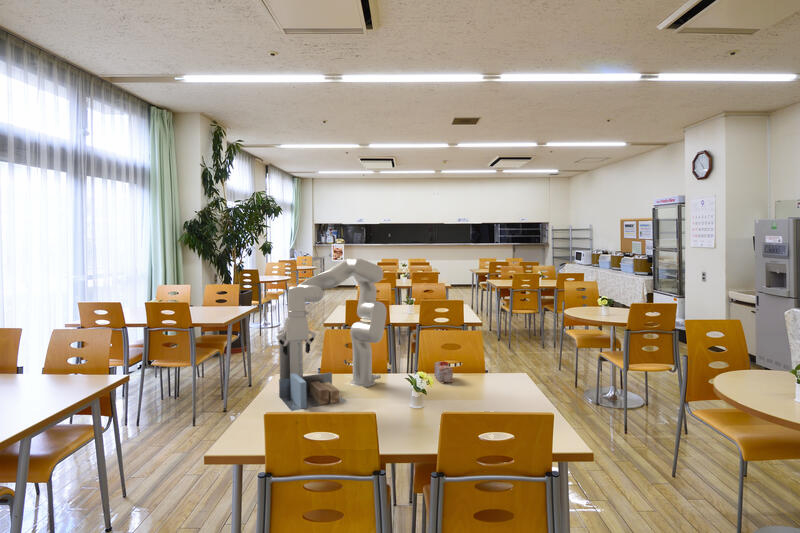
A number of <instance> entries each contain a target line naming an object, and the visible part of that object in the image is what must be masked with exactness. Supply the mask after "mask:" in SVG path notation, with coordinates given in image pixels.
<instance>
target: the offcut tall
mask: <svg viewBox="0 0 800 533" xmlns="http://www.w3.org/2000/svg"><path fill="white" fill-rule="evenodd" d="M310 396H311V397H312V398H313V399H315V400H316V401H317V402H318V403H319V404H326V403H329V389H327V388H326V387H325V386H324V385H322V384H321V383H320V382H311V383H310Z"/></svg>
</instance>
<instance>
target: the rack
mask: <svg viewBox="0 0 800 533" xmlns="http://www.w3.org/2000/svg"><path fill="white" fill-rule="evenodd" d="M301 378H302V379H303V380H304V381H306V406H307V408H300V407H299V406H298V405H297V404H296V403H295V402H294V401H293V400H292V399H291V378H286V379H280V378H278V397H279V398H280V400H282V402H283V403H284V405H286V407H287V408H288V409H289V410H290V411H291V412H293V411H300V410H305V409H306V410H307V409H312V408H317V407H323V406H331V405H334V404H340V403H346V402H348V400H346V399H345V398H344V397H342V396H341V395H340V394H339V401H338V402H332V403H331V402H330V401H329V403H326V404H319V403H318V402H317V401H316V400H315V399H313V398H312V397H311V396H310V383H311V382H320V383H326V382H329V383H331V384H332V385H333V372H325V373H317V374H310V375H309V374H308V375H303V376H301Z"/></svg>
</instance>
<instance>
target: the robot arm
mask: <svg viewBox="0 0 800 533" xmlns="http://www.w3.org/2000/svg"><path fill="white" fill-rule="evenodd" d="M351 277H353V278H354V279H355V281H356V282H357V284H358V287H359V298H358V303H357V308H356V309H357V310H356V315H357V317H358V318H360V319H363V320H368V321H369V320H370V322H368V321H356V322H354V323H353V324H352V325H351V327H350V330H349V331H350V332H349V333H350V338H351V344H352V345H351V346H352V380H350V382H349V384H350V385H351V386H356V387H364V388H370V387H372V386H374V385H375V383H376V381H375V380H379V379H381V374H373V372H372V370H373V368H372V366H373V365H372V364H373V359H372V358H373V356H372V354H373V352H372V344H376V343H379V342H381V341H382V339H383V336H384V332H385V326H386V320H387V314H388V313H387V307H386V305H385V304H384V303H383V302H381V301H378V300H377V294H378V293H377V292H378V291H377V287H376V284H375V283H379V282H381V281H382V280H383V277H384V270H383V269H382V267H381V266H380V265H379V264H378V265H377V264H375V263H373V262H370V261H368V260H365V259H362V258H345V259H343V260H342V261H341V260H340V262H338V263H337V264H336V265H334V266H332V267H331V268H330V269H328V270H326V271H324V272H321V273H319V274H316V275H313V276H311V277H308V278H306V280H304V281H302V282H301V283H299V284H298V285H294V286H289V287H288V288H287V289H288V290H287V317H285V320H284V327H283V328H284V329H283V330H284V332H282V333H281V334H279V333H278V334H277V335H276V339H277V341H278V342H280V343H281V344H282V345H283V353H284V355H287V346H286V345H287V343H288V342H289V341H302V342H304V341H305V350H304V351H305V353H306V354H309V353H310V351H311V344H312V342H314V340H315V338H316V336H317V333H315V332H314V331H312V330H309V323H308V318H307V315H309V311H308V310H307V309H306V303H318V302H320V301H321V300H322V299H323V298H324V290H326V289H333V288H335V287H338V286H339V285H341V284H342V283H343V282H345V281H347V280H348V279H349V278H351ZM376 300H377V301H376ZM310 335H311V337H309V336H310ZM282 336H284V339H285V340H284V341H282V340H281V337H282ZM371 343H372V344H371Z"/></svg>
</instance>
